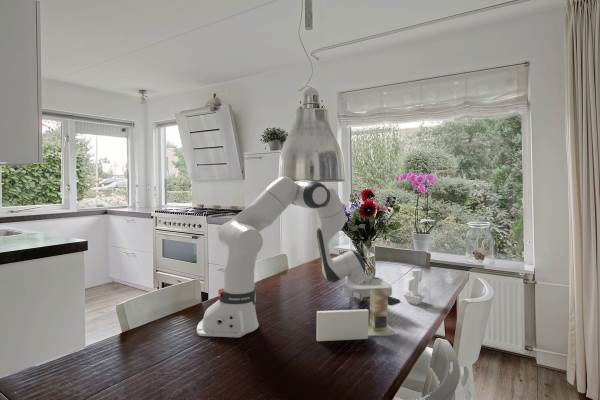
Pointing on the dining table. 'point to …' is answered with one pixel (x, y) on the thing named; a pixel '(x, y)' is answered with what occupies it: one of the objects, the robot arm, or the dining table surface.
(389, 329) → the pad
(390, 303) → the phone
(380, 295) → the marked block
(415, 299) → the figurine
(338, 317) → the upright white panel
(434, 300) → the dining table surface
